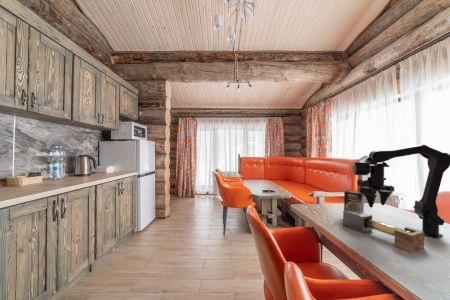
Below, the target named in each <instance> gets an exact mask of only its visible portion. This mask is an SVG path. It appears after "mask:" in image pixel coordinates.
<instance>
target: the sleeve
mask: <svg viewBox="0 0 450 300" xmlns="http://www.w3.org/2000/svg"><path fill="white" fill-rule="evenodd" d="M342 213H343V214H342V215H343V216H342V217H343V219H342V220H343V221H342V222H343V223H342V225H343V226H344V227H346V228H349V229H352V230H354V231H357V232H360V233H363V234H365V233H369V232H372V231H373V229H371V228H369V227H366V226H365V219H366V218H367V219H370V220H373V214H369V213H366V212H364V213H363V212H359V211H356V210H353V209H350V210H345V211H344V210H343V211H342Z"/></svg>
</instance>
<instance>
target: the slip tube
mask: <svg viewBox="0 0 450 300" xmlns="http://www.w3.org/2000/svg"><path fill="white" fill-rule="evenodd" d="M365 226H366V227H369V228H371V229H372V230H374V231H377V232H381V233H384V234H385V235H389V236H392V237H394V238H395V230H397V229H398V230H401V231H404V232H407V233H412V232H410V231H406V230H404V229H402V228H399V227H396V226H392V225H390V224H386V223H383V222H380V221H376V220H374V219H372V220H370V219H367V218H366V219H365Z"/></svg>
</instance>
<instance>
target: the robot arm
mask: <svg viewBox="0 0 450 300" xmlns="http://www.w3.org/2000/svg"><path fill="white" fill-rule="evenodd" d="M417 154H418V155H420V156H422V157H423V158H424V159H426V160H427V167H428V169H429V170H428V175H427V178H426V182H425V186H424V190H423V194H422V197H421V199H420V200H415V201H414V205H413V207H412V208H413V209H414V210H413V211H414V213H415V214H416V215H417V216H418V218H419V219H421V220H422V223H421V225H422V226H421V227H422V229H421V231H423V232H424V236H428V237H431V238H434V239H438V238H441V237H443V236H444V234H442V233H440V226H443V225H444V223H445V220H444V219H443V218H441V217H440V216H439V215H438V214H439V210H438V209H439V208H438V205H437V202H436V201H437V198H438V196H439V195H438V194H439V191H440V186H441V184H442V181H443V175H444V173H445V172H446V171H447V170H448V169H449V168H450V153H447V152H442V151H440V150H437V149H435V148H432V147H430V146H428V145H426V144H416V145H413V146H406V147H403V148H402V147H401V148H395V149H389V150H372V151H370V153H369V154H368V157H367V158H366V159H365V161H362V162H361V161H360V162H359V161H354V162H353V166H352V174H353V175H354V176H368V175H369V176H368V177H367V179H366V180H363V179H362V178H361V179H357V181H356V185H357V186H359V187H360V188H359V191H358V192H360V193H361V194H363V195H364V198H365V199H366V202H367V204H368V206H369V208H373V207H374V204H375V200H377V199H376V198H377V193H378V195H379V198H380V199H379V200H380V205H381V206H385V204H386V202H387V201H388V199H389V198H390V197H391V196H392V194H393V193H394V192H395V187H394V186H393V185H389V184H385V181H387V178H386V177H385V168H389V167H390V165H389V164H387V162H388V161H389V160H392V159H394V158H400V157H407V156H413V155H417Z"/></svg>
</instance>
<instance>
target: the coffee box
mask: <svg viewBox="0 0 450 300" xmlns="http://www.w3.org/2000/svg"><path fill="white" fill-rule="evenodd" d="M343 192H344V194H343V198H344V199H343V204H344V205H343V211H345V210H350V209H353V210H356V211H359V212H363V213H365V212H364V211H365V196H364V195H363V194H361V193H360V192H359V191H357V190H351V189H350V190H348V189H347V190H344V191H343Z"/></svg>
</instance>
